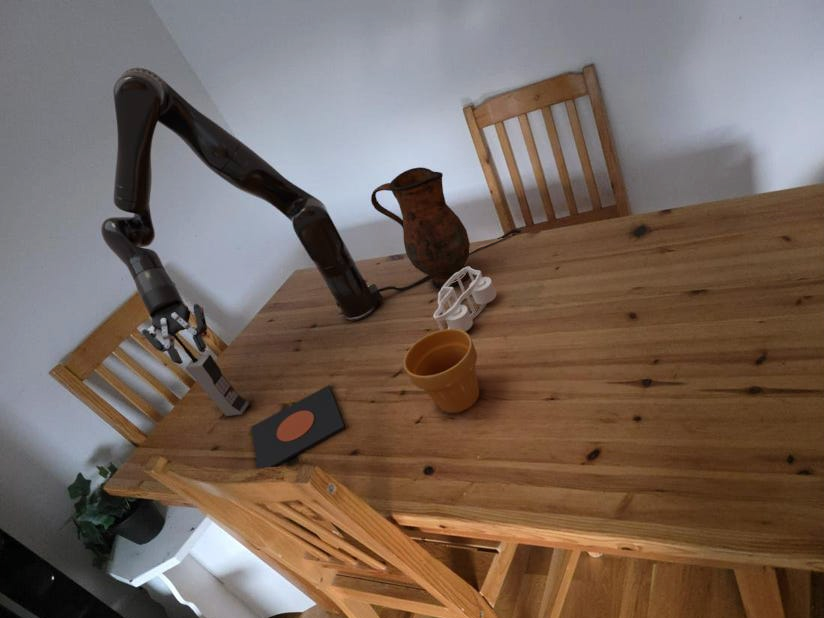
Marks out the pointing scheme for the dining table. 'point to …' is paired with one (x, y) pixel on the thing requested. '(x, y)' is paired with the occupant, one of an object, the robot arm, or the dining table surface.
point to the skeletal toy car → (459, 313)
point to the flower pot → (445, 369)
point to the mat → (297, 428)
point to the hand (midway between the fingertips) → (191, 356)
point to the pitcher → (428, 225)
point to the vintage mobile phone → (214, 383)
